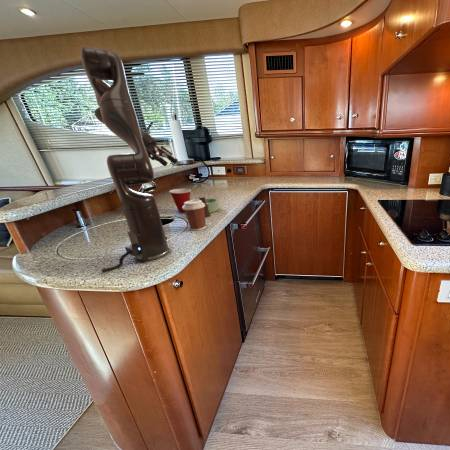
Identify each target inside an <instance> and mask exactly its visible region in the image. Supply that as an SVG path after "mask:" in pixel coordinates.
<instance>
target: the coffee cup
mask: <svg viewBox="0 0 450 450" xmlns="http://www.w3.org/2000/svg"><path fill="white" fill-rule="evenodd" d="M204 207H205V204H204V203H203V202H202V201H201V200H199V199H190V201H186V202H185V203H184V206H183V207H182V209H183V210H185V212H184V213H185V216H186V219H187V223H188V224H189V228H190V230H191V231H193V232H195V231H201V230H204V229H206V228H207V222H206V217H205V212H204Z"/></svg>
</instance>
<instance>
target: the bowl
mask: <svg viewBox="0 0 450 450" xmlns="http://www.w3.org/2000/svg"><path fill="white" fill-rule="evenodd" d="M205 200H206V204H208V208H209V213H210V214H211V213H215V212H217V211H218V210H220V206H219V201H218V200H219V199H217V198H213V197H211V198H205Z"/></svg>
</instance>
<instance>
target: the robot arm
mask: <svg viewBox="0 0 450 450" xmlns="http://www.w3.org/2000/svg"><path fill="white" fill-rule="evenodd" d="M79 55H80V60H81V64H82V66H83V69H84V72H85V74H86V77H87V79H88V81H89V84H90V86H91V87H92V90H93V91H94V94H95V95H94V96H95V99H96V104H97V105H98V107H96V109H94V112H93V113H94V116H95V118H96V119H97V120H98V121H99V122H100V123H101V124H103V125H105V127H106V128H107V129H108V130H109V131H110V132H111V133H112V134H114V135H115V136H117V137H118V138H119V139H120V140H122V141H123V142H124V143H126V145H127V146H129V148H131V151H133V153H118V154H110V155H108V156H107V157H106V165H107V169H108V172H109V174H110V177H111V179H112V183H113V184H114V187H115V190H116V192H117V195H118V198H119V202H120V205H121V208H122V212H123V215H124V218H125V221H126V224H127V227H128V231H127V235H128V238H129V241H130V244H129V245H127V246H124V249H125V251H126V252H125V253H124V254H122V255H121V256H120V258H119V260H118V261H119V262H118V264H116V265H115V266H114V265H113V266H111V267H105V268H102V269H101V272H102V273H104V272H105V273H106V272H108V271H113V270H116V269H119V268H121V267H122V266H123V265H124V259H125V258H126V257H128V255H130V256H133V257H134V258H135V259H136V260H139V261H141V262H144V263H146V262H149V261H154V260H157V259H160V258H162V257H165V256H166V255H168V254H169V253H170V247H169V243H168V237H167V236H166V233H165V229H164V226H163V223H162V222H163V221H162V219H161V218H162V217H161V214H160V211H159V207H158V204H157V200H156V197H155V196H154V195H153V194H150V193H144V192H139V191H136V190H133V189H131V188H130V187H129V186H137V185H144V184H150V183H153V181H154V179H155V171H154V168H153V165H152V162H151V161H156V162H158V163H159V164H161V166H163V167H167V165H168V161H169V162H171V163H172V164H173V165H177V163H178V159H176V158H175V157H174V156H173V153H172V152H171V151H170V150H168V149H167V148H166V147H164V146H163V145H161V146H159V145H158V144H157V141H156V139H155V138H154V137H152V136H151V135H150V134H149V133H148V132H146V131H145V130H143V129H142V128H141V127H140V124H139V120H138V117H137V113H136V110H135V107H134V104H133V100H132V98H131V95H130V92H129V87H128V83H127V77H126V73H125V67H124V64H123V61H122V58H121V57H120V55H119V54H118V53H117V52H115V51H113V50H109V49H105V48H100V47H94V46H88V45H87V46H85V45H84V46H81V48H80V53H79ZM106 81H108V82H112V84H111V85H109V84H108V83H107V82H106ZM164 158H165V159H167V160H168V161H166V160H165V159H164Z"/></svg>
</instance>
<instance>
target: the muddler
mask: <svg viewBox="0 0 450 450" xmlns="http://www.w3.org/2000/svg"><path fill="white" fill-rule="evenodd" d="M205 199H206V196H199V197H198V200H201V201H202V202H203V203H204V204H205V207H204V212H205V218H208V217H210V216H211V213H209V208H208V204H206V200H205Z"/></svg>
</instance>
